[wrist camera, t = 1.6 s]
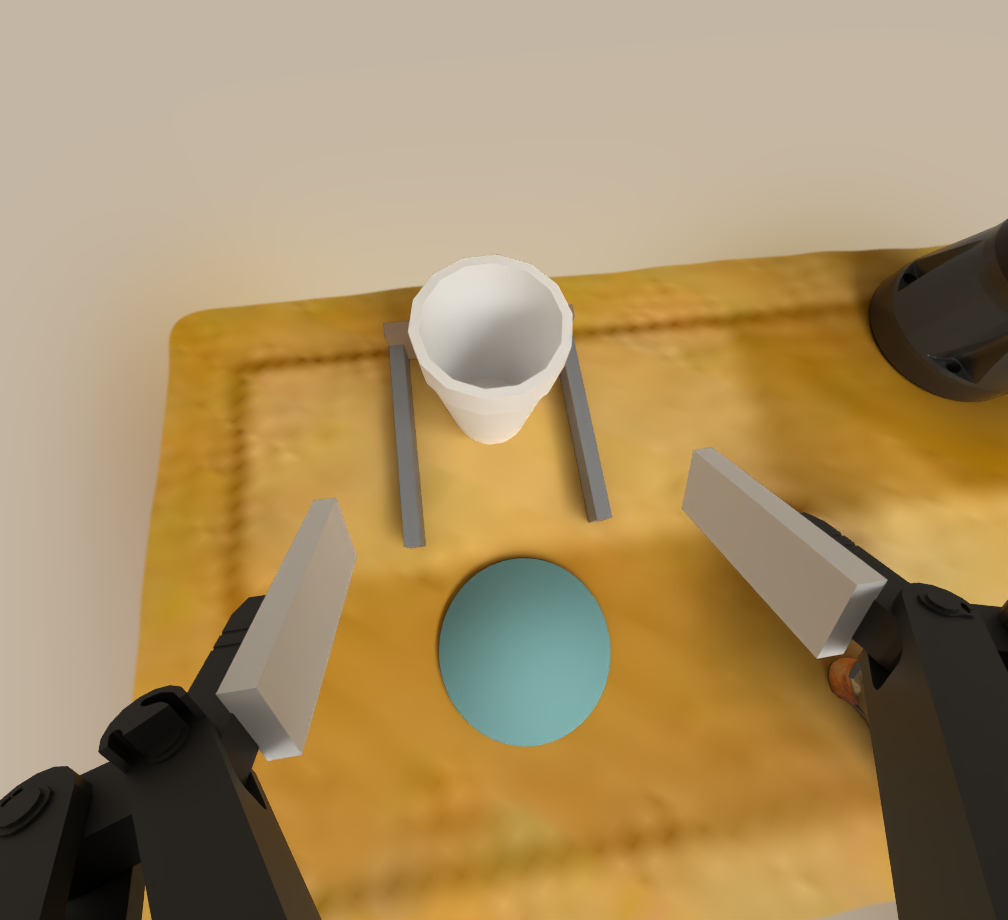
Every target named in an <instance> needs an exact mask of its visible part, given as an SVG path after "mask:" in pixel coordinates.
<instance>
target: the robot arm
mask: <svg viewBox="0 0 1008 920" xmlns="http://www.w3.org/2000/svg"><path fill="white" fill-rule="evenodd" d="M870 321H871V327H872V330H873V334H874V336H875V339H876V341H877V343H878V345H879V347H880V349H881V350H882V352H883V353H884V355H885V356H886V357H887V359H888V360H889V361H890V362H891V364H892V365H893V366H894V367H895V368H896V369H897V370H898V371H899V372H900V373H901V374H903V375H904V376H905V377H906V378H907V379H909V380H910V381H911V382H913V383H914V384H916V385H917V386H919V387H921V388H923V389H925V390H926V391H928V392H931V393H933V394H935V395H938V396H941V397H944V398H947V399H951V400H956V401H963V402H979V401H985V400H989V399H993V398H996V397H999V396H1002V395H1005V394H1008V219H1007V220H1005V221H1004V222H1002V223H1001V224H999V225H997V226H995V227H993V228H990V229H988V230H985V231H983V232H980V233H978V234H976V235H973V236H971V237H968V238H966V239H964V240H961V241H959V242H956V243H954V244H951V245H949V246H946V247H944V248H942V249H939V250H937V251H934V252H932V253H929V254H927V255H925V256H922V257H920V258H918V259H916V260H914V261H912V262H910V263H908V264H907V265H905V266H904V267H903V268H901V269H900V270H898V271H897V272H896V273H894V274H893V275H891V276H890V277H889V278H887V279H886V280H885V281H884V282H882V283H881V285H880V286H879V287H878V288H877V290H876V292H875V293H874V296H873V298H872V301H871V306H870ZM682 510H683V511H684V512H685V513H686V514H687V515H688V516H689V517H690V519H691V520H692V521H693V522H694V523H695V524H696V525H697V526H698V527H699V529H700V530H701V531H702V532H703V533H704V534H705V535H706V536H707V537H708V539H709V540H710V541H711V542H712V543H713V544H714V545H715V546H716V547H717V549H718V550H719V551H720V552H721V553H722V554H723V555H724V556H725V557H726V559H727V560H728V561H729V562H730V563H731V564H732V565H733V566H734V567H735V569H736V570H737V571H738V572H739V573H740V574H741V575H742V576H743V577H744V579H745V580H746V581H747V582H748V583H749V584H750V585H751V586H752V587H753V589H754V590H755V591H756V592H757V593H758V594H759V595H760V596H761V597H762V599H763V600H764V601H765V602H766V603H767V604H768V605H769V606H770V607H771V609H772V610H773V611H774V612H775V613H776V614H777V615H778V616H779V617H780V619H781V620H782V621H783V622H784V623H785V624H786V625H787V626H788V627H789V629H790V630H791V631H792V632H793V633H794V634H795V635H796V636H797V637H798V639H799V640H800V641H801V642H802V643H803V644H804V645H805V646H806V647H807V649H808V650H809V651H810V652H811V653H812V654H813V655H814V656H815V657H816V659H818V658H824V657H829V656H834V655H840V654H844V652H845V650H846V649H847V647H848V645H849V644H850V642H851V640H852V639H853V640H855V641H856V642H857V643H858V644H859V645H860V646H861V647H862V648H863V650H862V652H861V654H860V655H859V657H858V658H857V660H856V661H855V663H854V665H853V666H852V668H851V669H850V671H849V676H848V677H849V678H851V679H854V678H855V677H856V675H857V674H858V672H859V671H861V673H862V683H863V686H864V693H865V700H866V706H867V713H868V720H869V726H870V733H871V739H872V746H873V753H874V759H875V766H876V773H877V779H878V786H879V792H880V799H881V806H882V812H883V819H884V825H885V832H886V839H887V845H888V852H889V859H890V865H891V872H892V878H893V885H894V892H895V898H896V904H897V911H898V918H899V920H1008V600H1007V601H1006V603H1005V604H1004V605H1003V606H1002V607H996V606H986V605H977V604H969V603H968V602H967V601H965V600H964V599H963V598H961V597H959V596H957V595H955V594H953V593H951V592H949V591H947V590H945V589H942V588H939V587H936V586H933V585H928V584H923V583H909V582H907V581H906V580H904V579H903V578H902V577H900V576H899V575H898V574H896V573H895V572H893V571H892V570H891V569H889V568H888V567H887V566H885V565H884V564H882V563H881V562H880V561H878V560H877V559H876V558H874V557H873V556H871V555H870V554H869V553H867V552H866V551H865V550H863V549H862V548H860V547H859V546H855V544H854V542H852V541H851V540H850V539H848V538H847V537H845V536H842V535H841V533H840V532H839V531H837V530H836V529H834V528H833V527H832V526H830V525H829V524H828V523H826V522H825V521H822V520H820V519H818V518H816V517H814V516H812V515H809V514H807V513H805V512H804V513H798V512H797V511H796V510H795V509H793V508H792V507H791V506H789V505H788V504H787V503H785V502H784V501H783V500H781V499H780V498H779V497H777V496H776V495H775V494H773V493H772V492H771V491H769V490H768V489H767V488H765V487H764V486H763V485H761V484H760V483H759V482H757V481H756V480H755V479H754V478H752V477H751V476H750V475H748V474H747V473H746V472H744V471H743V470H742V469H740V468H739V467H738V466H736V465H735V464H734V463H732V462H731V461H730V460H728V459H727V458H726V457H724V456H723V455H722V454H720V453H719V452H718V451H716V450H715V449H714V448H705V449H698V450H693V455H692V460H691V465H690V470H689V475H688V480H687V485H686V490H685V495H684V500H683V505H682ZM356 558H357V555H356V552H355V549H354V546H353V543H352V540H351V538H350V535H349V532H348V529H347V526H346V523H345V521H344V518H343V515H342V512H341V509H340V506H339V503H338V501H337V498H330V499H322V500H315V501H313V503H312V505H311V507H310V509H309V511H308V513H307V515H306V517H305V519H304V521H303V523H302V525H301V527H300V529H299V531H298V533H297V535H296V537H295V539H294V541H293V543H292V545H291V547H290V549H289V551H288V553H287V555H286V557H285V559H284V561H283V563H282V564H281V566H280V568H279V570H278V572H277V574H276V576H275V578H274V580H273V582H272V584H271V586H270V588H269V590H268V592H267V594H266V595H263V596H256V597H249V598H248V599H247V600H246V601H245V602H244V603H243V604H242V605H241V606H240V607H239V608H238V609H237V610H236V611H235V612H234V613H233V614H232V615H231V617H230V619H229V621H228V622H227V624H226V626H225V628H224V629H223V631H222V635H221V636H219V638H218V640H217V642H216V643H215V645H214V650H213V651H211V652H210V654H209V656H208V657H207V659H206V661H205V663H204V664H203V666H202V668H201V670H200V671H199V673H198V675H197V677H196V678H195V680H194V682H193V684H192V686H191V687H190V689H189V691H188V693H187V692H186V691H185V690H184V689H183V688H182V687H180V686H172V685H169V686H165V687H162V688H158V689H155V690H153V691H151V692H149V693H147V694H145V695H143V696H141V697H139V698H138V699H137V700H135V701H134V702H133V703H131V704H130V705H129V706H127V707H126V708H125V709H123V710H122V712H120V714H119V715H118V716H117V717H116V718H115V719H114V720H113V721H112V722H111V723H110V724H109V726H108V728H107V730H106V731H105V733H104V734H103V736H102V738H101V740H100V746H99V751H98V752H99V753H100V754H101V755H102V756H104V757H105V758H106V759H107V760H109V761H110V762H108V763H106V764H103V765H101V766H99V767H97V768H95V769H92V770H90V771H88V772H86V773H84V774H82V775H78V774H77V773H76V772H74V771H73V770H72V769H70V768H69V767H68V766H61V767H53V768H50V769H48V770H45V771H42V772H40V773H37V774H36V775H34V776H32V777H31V778H29V779H28V780H26V781H24V782H23V783H21V784H20V785H18V786H16V787H15V788H14V789H13V790H12V791H11V792H9V793H8V794H7V795H6V796H5V797H3V799H1V800H0V920H142V910H143V901H144V891H145V886H146V891H147V897H148V902H149V907H150V913H151V918H152V920H321V917H320V915H319V913H318V911H317V909H316V906H315V904H314V902H313V900H312V897H311V895H310V893H309V891H308V889H307V886H306V884H305V882H304V880H303V877H302V875H301V873H300V871H299V869H298V866H297V864H296V862H295V860H294V857H293V855H292V853H291V851H290V849H289V846H288V844H287V842H286V840H285V837H284V835H283V833H282V831H281V829H280V826H279V824H278V822H277V820H276V817H275V815H274V813H273V811H272V809H271V806H270V804H269V802H268V800H267V797H266V795H265V793H264V791H263V789H262V786H261V784H260V782H259V780H258V777H257V775H256V773H255V772H254V771H253V770H252V766H253V763H254V760H255V758H256V755H257V752H258V750H260V751H261V752H262V754H263V755H264V756H265V758H266V759H267V760H268V761H270V760H276V759H281V758H287V757H292V756H297V755H302V753H303V749H304V746H305V742H306V739H307V735H308V731H309V728H310V724H311V721H312V717H313V713H314V710H315V706H316V703H317V699H318V695H319V692H320V688H321V685H322V681H323V677H324V674H325V670H326V666H327V663H328V659H329V656H330V652H331V648H332V645H333V641H334V638H335V634H336V630H337V627H338V623H339V620H340V616H341V612H342V609H343V605H344V602H345V598H346V594H347V591H348V587H349V583H350V580H351V576H352V573H353V569H354V565H355V562H356Z"/></svg>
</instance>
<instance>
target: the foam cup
mask: <svg viewBox="0 0 1008 920" xmlns="http://www.w3.org/2000/svg"><path fill="white" fill-rule="evenodd" d="M572 318H573V314H572V312H571V310H570V308H569V306H568V304H567V302H566V300H565V298H564V296H563V294H562V292H561V290H560V288H559V286H558V285H557V284H556V283H555V282H554V281H552V280H551V279H550V278H549V277H547V276H546V275H545V274H543V273H542V272H541V271H540V270H538V269H537V268H536V267H535V266H533V265H532V264H529V263H526V262H522V261H518V260H515V259H511V258H508V257H504V256H501V255H490V256H479V257H469V258H462V259H460V260H458V261H457V262H455V263H453V264H451V265H449V266H447V267H445V268H444V269H441V270H440V271H438V272H436V273H434V274H432V276H431V277H430V278H429V280H428V281H427V282H426V284H425V285H424V286H423V288H422V289H421V290H420V291H419V293H418V294H417V295H416V297H415V298H414V299H413V303H412V309H411V315H410V322H409V328H408V334H409V337H410V340H411V343H412V345H413V348H414V351H415V354H416V357H417V359H418V362H419V365H420V367H421V370H422V373H423V375H424V378H425V381H426V383H427V384H428V385H429V386H430V387H431V388H432V389H433V390H435V391H436V393H437V394H438V396H439V397H440V399H441V400H442V402H443V403H444V405H445V406H446V408H447V409H448V411H449V412H450V414H451V415H452V417H453V419H454V420H455V422H456V423H457V425H458V426H459V428H461V430H462V431H463V432H464V433H465V434H467V435H468V436H469V437H470V438H471V439H472V440H475V441H478V442H481V443H484V444H495V443H503V442H505V441H507V440H508V439H510V438H511V437H513V436H514V435H516V434H517V433H518V432H519V430H520V429H521V427H522V426H523V424H524V423H525V421H526V420H527V418H528V417H529V415H530V414H531V412H532V411H533V409H534V408H535V406H536V405H537V403H538V402H539V400H540V399H541V397H543V396H545V395H546V394H548V393H549V391H550V389H551V388H552V386H553V384H554V382H555V381H556V379H557V377H558V376H559V374H560V372H561V371H562V369H563V367H564V365H565V362H566V360H567V357H568V355H569V352H570V349H571V347H572Z"/></svg>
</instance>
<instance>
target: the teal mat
mask: <svg viewBox="0 0 1008 920" xmlns="http://www.w3.org/2000/svg"><path fill="white" fill-rule="evenodd" d="M439 662H440V669H441V674H442V678H443V681H444V685H445V688H446V690H447V692H448V695H449V697H450V699H451V700H452V702H453V704H454V706H455V707H456V709H457V710H458V711H459V713H460V714H461V715H462V716H463V718H464V719H465V720H466V721H467V722H468V723H469V724H470V725H471V726H472V727H474V728H475V729H476V730H478V731H479V732H481V733H482V734H484V735H485V736H487V737H489V738H491V739H493V740H496V741H499V742H501V743H504V744H509V745H514V746H536V745H542V744H546V743H550V742H553V741H555V740H557V739H559V738H562V737H563V736H565V735H567V734H568V733H570V732H572V731H573V730H574V729H575V728H577V727H578V726H579V725H580V724H581V723H582V722H583V721H584V720H585V719H586V718H587V717H588V716H589V715H590V713H591V712H592V710H593V709H594V707H595V706H596V704H597V703H598V701H599V699H600V697H601V695H602V693H603V690H604V687H605V684H606V682H607V677H608V673H609V667H610V639H609V632H608V629H607V625H606V621H605V619H604V616H603V613H602V611H601V609H600V607H599V605H598V603H597V601H596V600H595V598H594V597H593V595H592V594H591V592H590V591H589V590H588V589H587V588H586V586H585V585H584V584H583V583H582V582H581V581H580V580H579V579H577V578H576V577H575V576H574V575H573V574H571V573H570V572H568V571H567V570H565V569H563V568H561V567H559V566H557V565H555V564H553V563H550V562H547V561H543V560H538V559H531V558H518V559H510V560H505V561H501V562H499V563H496V564H493V565H491V566H489V567H487V568H485V569H483V570H482V571H480V572H479V573H477V574H476V575H475V576H473V577H472V578H471V579H470V580H469V581H468V582H467V583H466V584H465V585H464V586H463V587H462V588H461V590H460V591H459V592H458V593H457V595H456V596H455V598H454V599H453V601H452V603H451V605H450V607H449V609H448V611H447V613H446V616H445V619H444V622H443V625H442V629H441V634H440V642H439Z"/></svg>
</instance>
